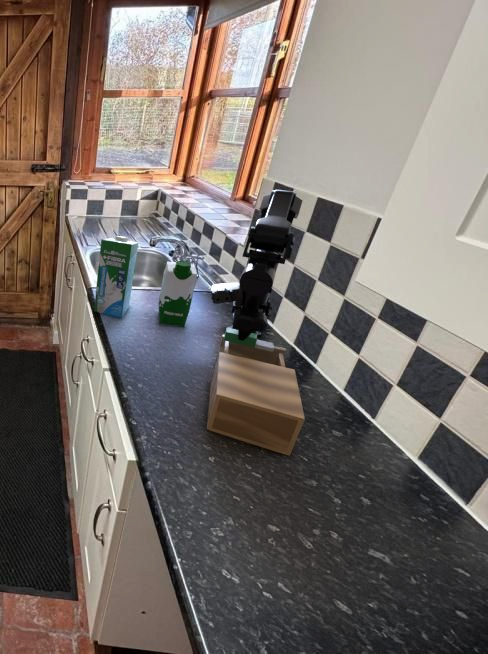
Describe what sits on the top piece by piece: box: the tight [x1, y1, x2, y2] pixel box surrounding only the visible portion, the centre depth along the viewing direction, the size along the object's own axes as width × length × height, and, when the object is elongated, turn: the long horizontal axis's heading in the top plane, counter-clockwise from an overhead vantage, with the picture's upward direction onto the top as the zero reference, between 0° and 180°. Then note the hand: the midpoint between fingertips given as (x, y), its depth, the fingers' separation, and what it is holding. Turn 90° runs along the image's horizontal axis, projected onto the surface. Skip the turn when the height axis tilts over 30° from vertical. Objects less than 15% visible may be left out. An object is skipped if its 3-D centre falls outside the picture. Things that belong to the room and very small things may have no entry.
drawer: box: [215, 334, 287, 368], centre depth 96 cm, size 17×13×8 cm
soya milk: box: [158, 260, 198, 328], centre depth 122 cm, size 9×9×20 cm
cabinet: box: [206, 352, 306, 457], centre depth 87 cm, size 17×15×10 cm
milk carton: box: [93, 235, 139, 319], centre depth 128 cm, size 9×9×25 cm
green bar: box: [223, 327, 275, 352], centre depth 96 cm, size 10×3×2 cm, turn 60°
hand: (240, 337), depth 97 cm, fingers closed on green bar, 2 cm apart
